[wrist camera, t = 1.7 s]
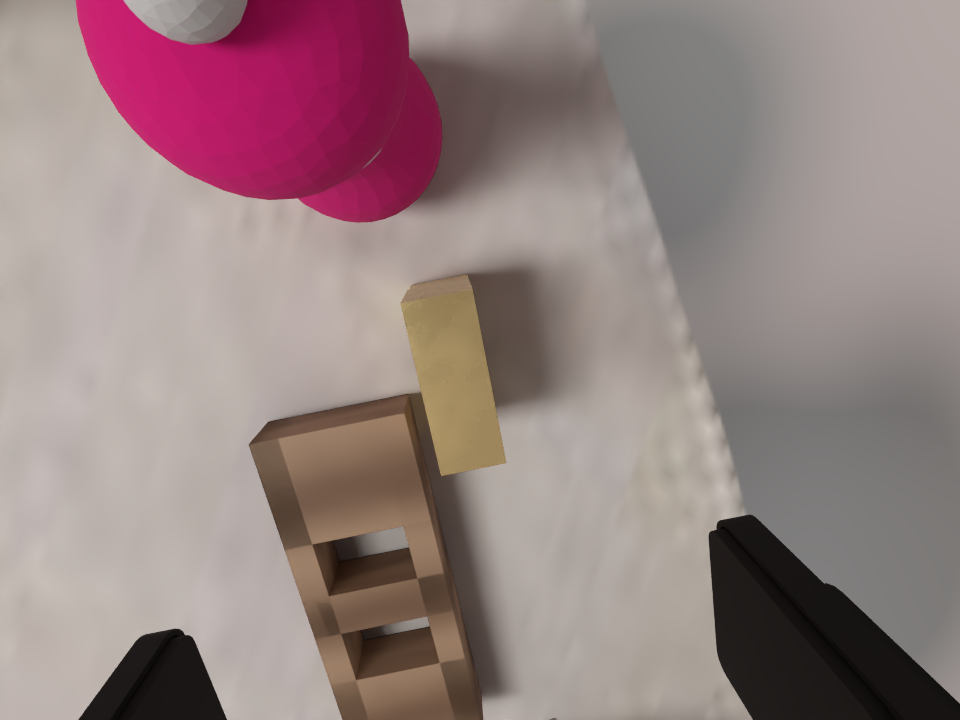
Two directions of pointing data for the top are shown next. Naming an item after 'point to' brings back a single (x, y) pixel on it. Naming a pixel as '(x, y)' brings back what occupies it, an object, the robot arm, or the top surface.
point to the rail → (370, 560)
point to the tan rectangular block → (453, 374)
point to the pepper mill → (274, 96)
